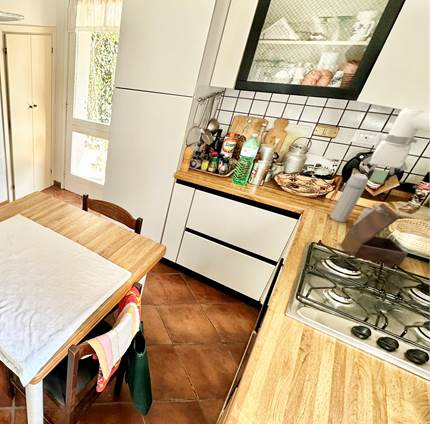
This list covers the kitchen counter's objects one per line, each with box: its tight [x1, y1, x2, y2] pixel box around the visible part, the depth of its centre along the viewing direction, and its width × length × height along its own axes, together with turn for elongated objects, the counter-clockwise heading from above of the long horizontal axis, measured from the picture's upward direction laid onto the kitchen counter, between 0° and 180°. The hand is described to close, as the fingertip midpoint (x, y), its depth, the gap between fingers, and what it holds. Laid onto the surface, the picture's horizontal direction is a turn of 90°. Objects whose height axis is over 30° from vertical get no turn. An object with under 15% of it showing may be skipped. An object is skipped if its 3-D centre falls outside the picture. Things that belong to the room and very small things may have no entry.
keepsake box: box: [340, 230, 408, 269], centre depth 135 cm, size 16×13×8 cm
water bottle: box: [329, 173, 369, 223], centre depth 160 cm, size 9×8×25 cm
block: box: [368, 168, 389, 184], centre depth 136 cm, size 4×4×4 cm
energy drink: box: [354, 207, 374, 225], centre depth 153 cm, size 5×5×12 cm
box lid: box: [348, 202, 401, 245], centre depth 130 cm, size 16×13×5 cm
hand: (376, 179), depth 137 cm, fingers closed on block, 4 cm apart
